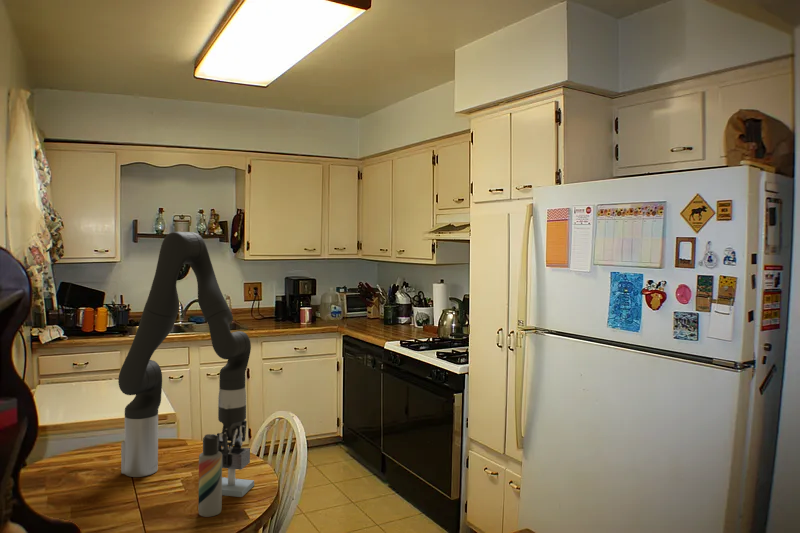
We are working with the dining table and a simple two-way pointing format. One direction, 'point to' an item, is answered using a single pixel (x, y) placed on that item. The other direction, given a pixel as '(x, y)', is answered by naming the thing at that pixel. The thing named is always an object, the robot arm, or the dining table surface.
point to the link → (239, 458)
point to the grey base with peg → (235, 485)
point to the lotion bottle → (210, 477)
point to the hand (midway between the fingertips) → (231, 462)
